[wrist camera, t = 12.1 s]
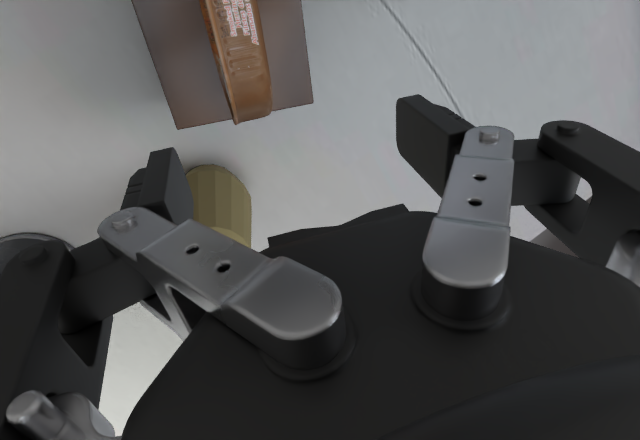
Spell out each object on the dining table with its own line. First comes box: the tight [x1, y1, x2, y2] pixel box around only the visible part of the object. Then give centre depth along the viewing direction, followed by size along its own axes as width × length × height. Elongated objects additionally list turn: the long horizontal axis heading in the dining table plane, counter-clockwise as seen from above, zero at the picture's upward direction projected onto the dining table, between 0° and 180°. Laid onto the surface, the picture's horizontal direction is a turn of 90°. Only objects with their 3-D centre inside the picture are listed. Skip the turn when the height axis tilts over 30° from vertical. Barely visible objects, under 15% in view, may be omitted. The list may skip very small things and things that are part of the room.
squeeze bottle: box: [186, 164, 251, 248], centre depth 34 cm, size 8×8×18 cm
